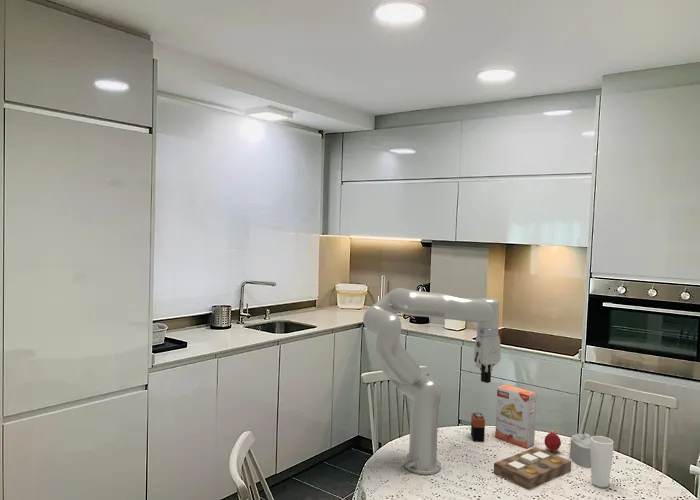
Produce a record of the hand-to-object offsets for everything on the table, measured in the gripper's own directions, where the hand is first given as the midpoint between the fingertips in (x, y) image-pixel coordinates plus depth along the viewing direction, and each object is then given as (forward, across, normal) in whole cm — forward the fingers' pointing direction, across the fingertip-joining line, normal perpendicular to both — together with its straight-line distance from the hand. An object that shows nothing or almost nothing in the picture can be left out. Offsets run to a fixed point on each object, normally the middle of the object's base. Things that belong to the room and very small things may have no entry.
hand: (485, 381), depth 198 cm
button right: (+26, +10, -17) cm, 33 cm away
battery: (+27, +10, +11) cm, 31 cm away
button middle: (+25, +3, -18) cm, 31 cm away
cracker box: (+27, +20, +1) cm, 34 cm away
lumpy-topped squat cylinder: (+27, +28, -24) cm, 46 cm away
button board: (+27, +3, -19) cm, 33 cm away
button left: (+26, -4, -17) cm, 31 cm away
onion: (+27, +24, -13) cm, 39 cm away
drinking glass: (+27, +14, -37) cm, 48 cm away
